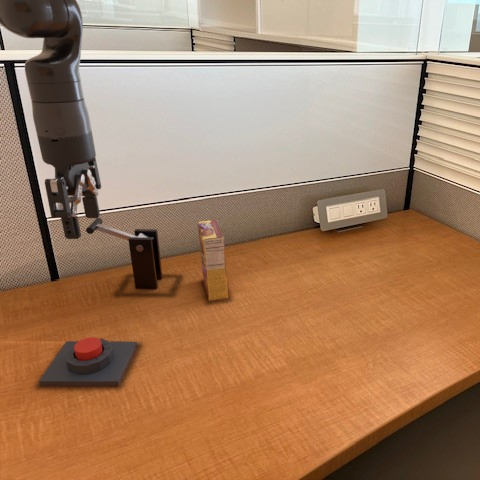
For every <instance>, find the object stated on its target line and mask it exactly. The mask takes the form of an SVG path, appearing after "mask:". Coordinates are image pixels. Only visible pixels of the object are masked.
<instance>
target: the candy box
mask: <svg viewBox="0 0 480 480" xmlns="http://www.w3.org/2000/svg"><path fill="white" fill-rule="evenodd" d="M197 230H198V238H199V249H200V258H201V268H202V278H203V285H204V288H205V291H206V295H207V299H208V302H210V301H216V300H223V299H228V298H229V293H228V290H229V289H228V279H227V278H228V277H227V261H226V250H225V249H226V248H225V236H224V234H223V233H222V231H221V228H220V225H219V223H218V220H217V219H211V220H210V219H209V220H202V221H197Z"/></svg>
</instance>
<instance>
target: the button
mask: <svg viewBox="0 0 480 480" xmlns="http://www.w3.org/2000/svg"><path fill="white" fill-rule="evenodd" d="M100 339H101V338H98V337H94V336H93V337H92V336H91V337H86V338H83V339H80V340H79V342H77V343H76V344H75V346H74V350H75V355H76V358H77V359H78V360H80V361H88V360H91V359H94V358H97V357H98V356H100V355H101V354H102V352H103V350H102V344H101V340H100Z"/></svg>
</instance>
